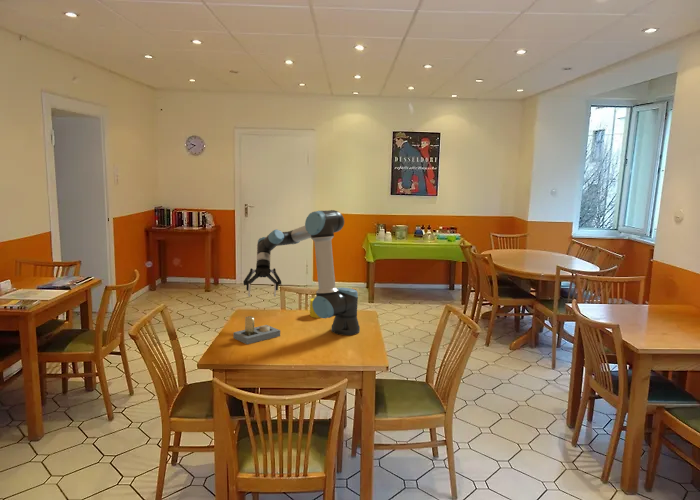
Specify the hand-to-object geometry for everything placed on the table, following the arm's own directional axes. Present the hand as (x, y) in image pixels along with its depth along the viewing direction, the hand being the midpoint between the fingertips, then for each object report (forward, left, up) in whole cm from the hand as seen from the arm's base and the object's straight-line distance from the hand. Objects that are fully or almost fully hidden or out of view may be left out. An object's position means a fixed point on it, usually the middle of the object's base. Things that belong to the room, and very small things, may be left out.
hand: (261, 295), depth 270 cm
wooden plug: (-12, +7, -17) cm, 22 cm away
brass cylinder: (-12, +16, -17) cm, 27 cm away
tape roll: (-3, -38, -18) cm, 42 cm away
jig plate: (-12, +12, -17) cm, 24 cm away
